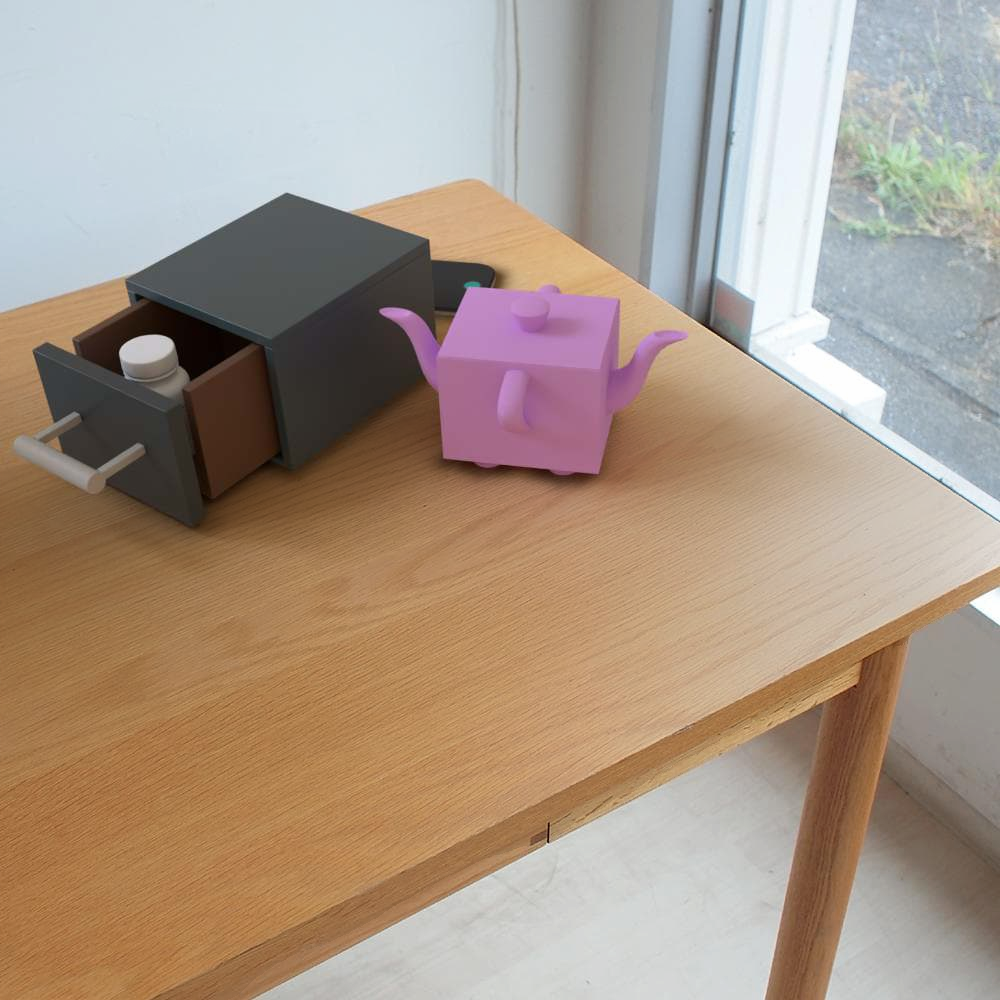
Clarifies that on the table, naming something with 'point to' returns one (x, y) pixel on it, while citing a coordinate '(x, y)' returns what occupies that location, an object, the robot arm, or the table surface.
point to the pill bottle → (156, 369)
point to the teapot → (530, 376)
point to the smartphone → (457, 283)
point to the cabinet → (307, 309)
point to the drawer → (155, 413)
